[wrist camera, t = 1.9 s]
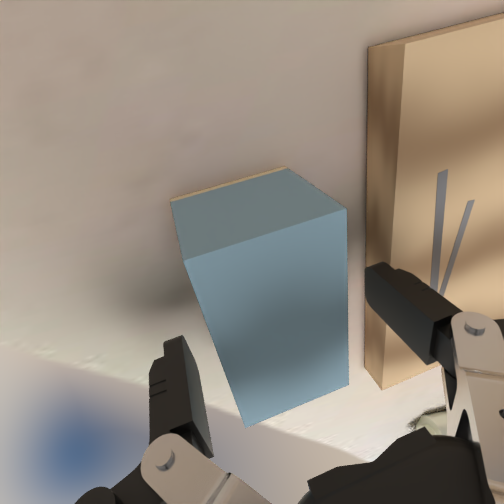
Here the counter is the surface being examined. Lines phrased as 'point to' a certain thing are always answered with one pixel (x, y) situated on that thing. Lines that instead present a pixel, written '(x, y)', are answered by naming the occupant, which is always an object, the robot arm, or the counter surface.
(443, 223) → the oak board
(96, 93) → the counter surface
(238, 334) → the block
